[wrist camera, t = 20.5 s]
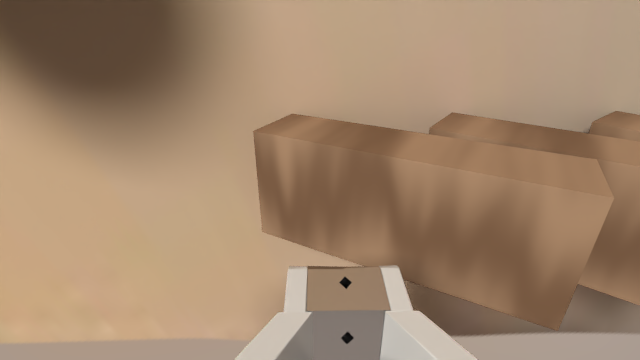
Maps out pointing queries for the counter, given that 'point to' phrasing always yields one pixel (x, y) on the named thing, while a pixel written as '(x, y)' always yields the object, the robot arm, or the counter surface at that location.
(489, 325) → the counter surface
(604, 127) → the domino
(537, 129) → the domino
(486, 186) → the domino
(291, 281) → the robot arm
